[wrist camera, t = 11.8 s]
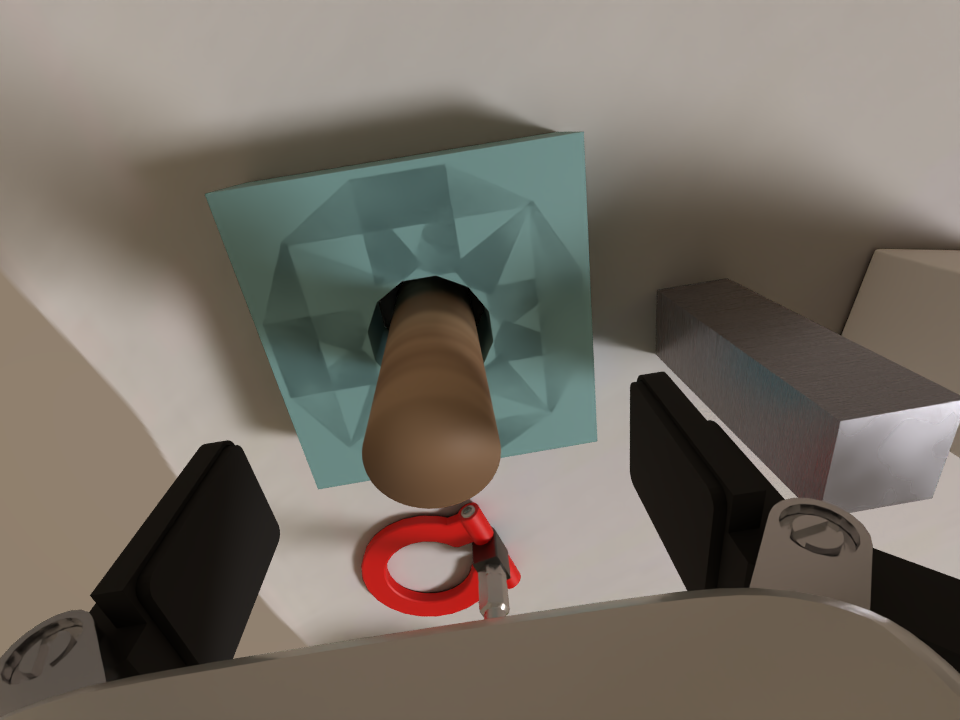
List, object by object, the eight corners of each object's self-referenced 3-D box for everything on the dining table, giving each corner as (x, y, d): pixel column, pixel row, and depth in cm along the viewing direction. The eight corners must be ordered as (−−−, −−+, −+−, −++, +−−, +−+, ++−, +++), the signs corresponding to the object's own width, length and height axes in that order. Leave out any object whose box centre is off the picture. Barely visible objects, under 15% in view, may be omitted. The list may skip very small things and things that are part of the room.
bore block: (245, 182, 20) (204, 193, 16) (557, 132, 20) (583, 131, 17) (334, 439, 26) (318, 489, 22) (575, 398, 26) (597, 441, 23)
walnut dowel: (389, 275, 22) (345, 409, 12) (464, 262, 22) (491, 384, 12) (405, 344, 24) (380, 518, 13) (475, 332, 24) (508, 496, 13)
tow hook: (404, 615, 33) (525, 573, 32) (374, 876, 22) (563, 829, 20) (339, 537, 30) (473, 486, 28) (262, 799, 18) (481, 735, 17)
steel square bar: (657, 290, 24) (840, 421, 13) (727, 278, 24) (967, 399, 13) (655, 354, 25) (818, 518, 15) (721, 343, 25) (932, 498, 15)
